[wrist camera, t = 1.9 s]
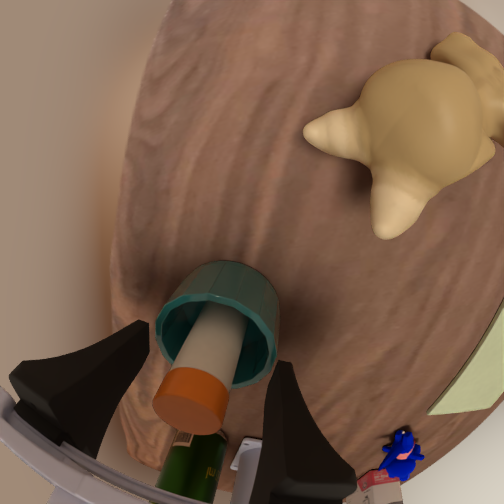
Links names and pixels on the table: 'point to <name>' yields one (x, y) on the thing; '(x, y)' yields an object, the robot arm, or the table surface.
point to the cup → (231, 294)
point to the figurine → (401, 456)
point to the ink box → (376, 489)
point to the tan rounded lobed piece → (419, 128)
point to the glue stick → (203, 372)
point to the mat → (477, 374)
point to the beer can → (193, 466)
